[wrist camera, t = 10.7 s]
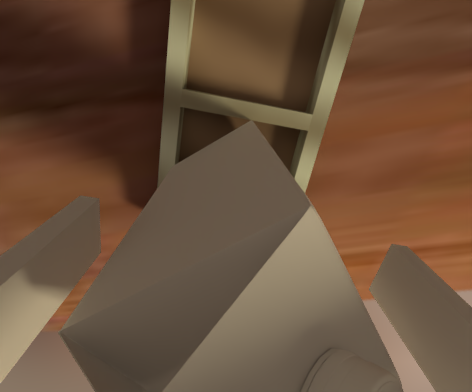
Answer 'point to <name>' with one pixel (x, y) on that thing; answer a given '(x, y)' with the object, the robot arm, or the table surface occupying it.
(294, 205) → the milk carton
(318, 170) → the table surface
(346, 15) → the board
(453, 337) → the robot arm
